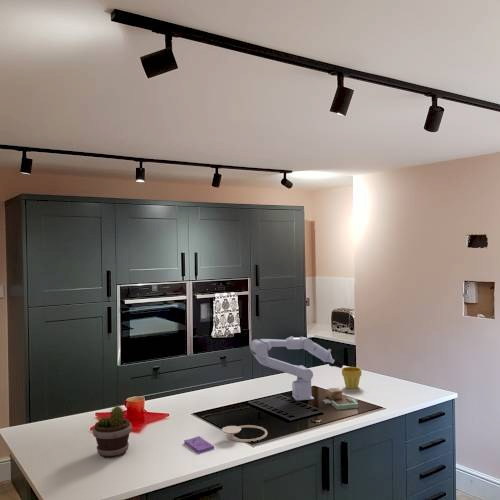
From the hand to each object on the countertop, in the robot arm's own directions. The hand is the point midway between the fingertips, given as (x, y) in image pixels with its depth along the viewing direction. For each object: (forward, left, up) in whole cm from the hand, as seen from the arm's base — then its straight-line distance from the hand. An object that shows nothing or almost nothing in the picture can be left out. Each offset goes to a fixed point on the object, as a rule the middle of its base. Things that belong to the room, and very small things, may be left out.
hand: (339, 363), depth 268 cm
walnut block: (-5, -6, -16) cm, 17 cm away
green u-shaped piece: (-5, -18, -15) cm, 24 cm away
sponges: (-77, -53, -16) cm, 95 cm away
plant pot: (+10, +9, -16) cm, 20 cm away
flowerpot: (-110, -52, -16) cm, 123 cm away
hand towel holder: (-58, -46, -16) cm, 76 cm away
